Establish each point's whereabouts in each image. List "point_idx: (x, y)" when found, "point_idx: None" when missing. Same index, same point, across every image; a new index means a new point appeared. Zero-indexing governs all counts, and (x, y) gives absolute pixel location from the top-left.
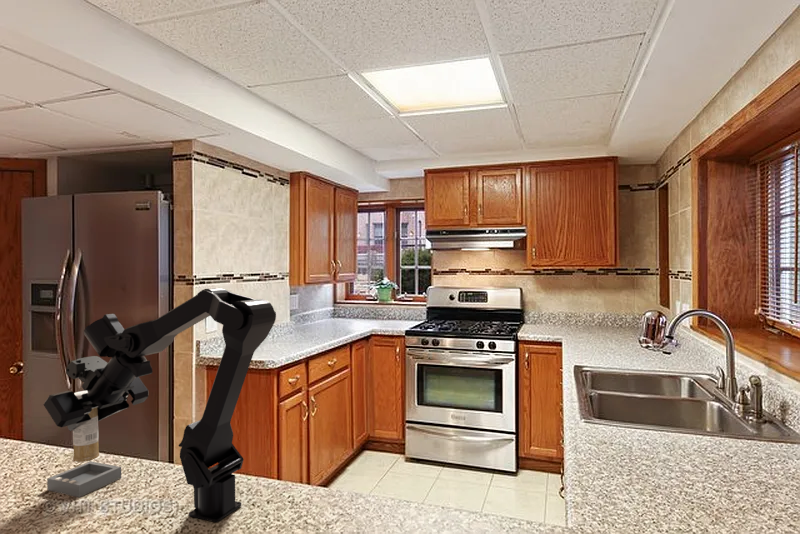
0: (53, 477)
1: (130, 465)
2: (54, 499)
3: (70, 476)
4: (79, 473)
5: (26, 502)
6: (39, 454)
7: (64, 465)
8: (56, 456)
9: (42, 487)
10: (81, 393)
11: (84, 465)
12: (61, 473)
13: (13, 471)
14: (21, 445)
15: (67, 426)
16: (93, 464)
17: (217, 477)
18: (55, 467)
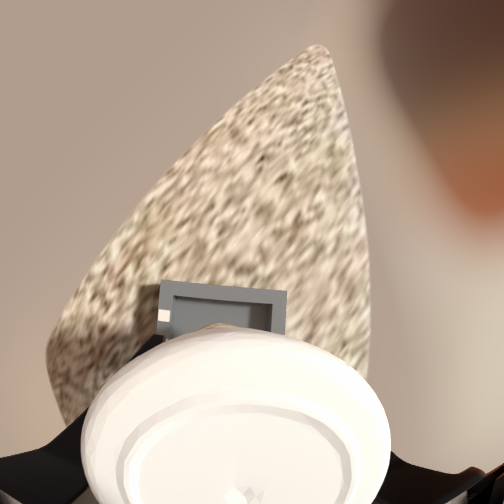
0: (169, 290)
1: (338, 355)
2: (135, 345)
3: (214, 300)
4: (240, 302)
5: (110, 294)
6: (310, 103)
7: (289, 192)
8: (317, 137)
9: (176, 256)
10: (182, 499)
11: (258, 301)
12: (196, 287)
13: (231, 121)
14: (321, 59)
15: (151, 336)
16: (271, 320)
17: None
18: (274, 182)
